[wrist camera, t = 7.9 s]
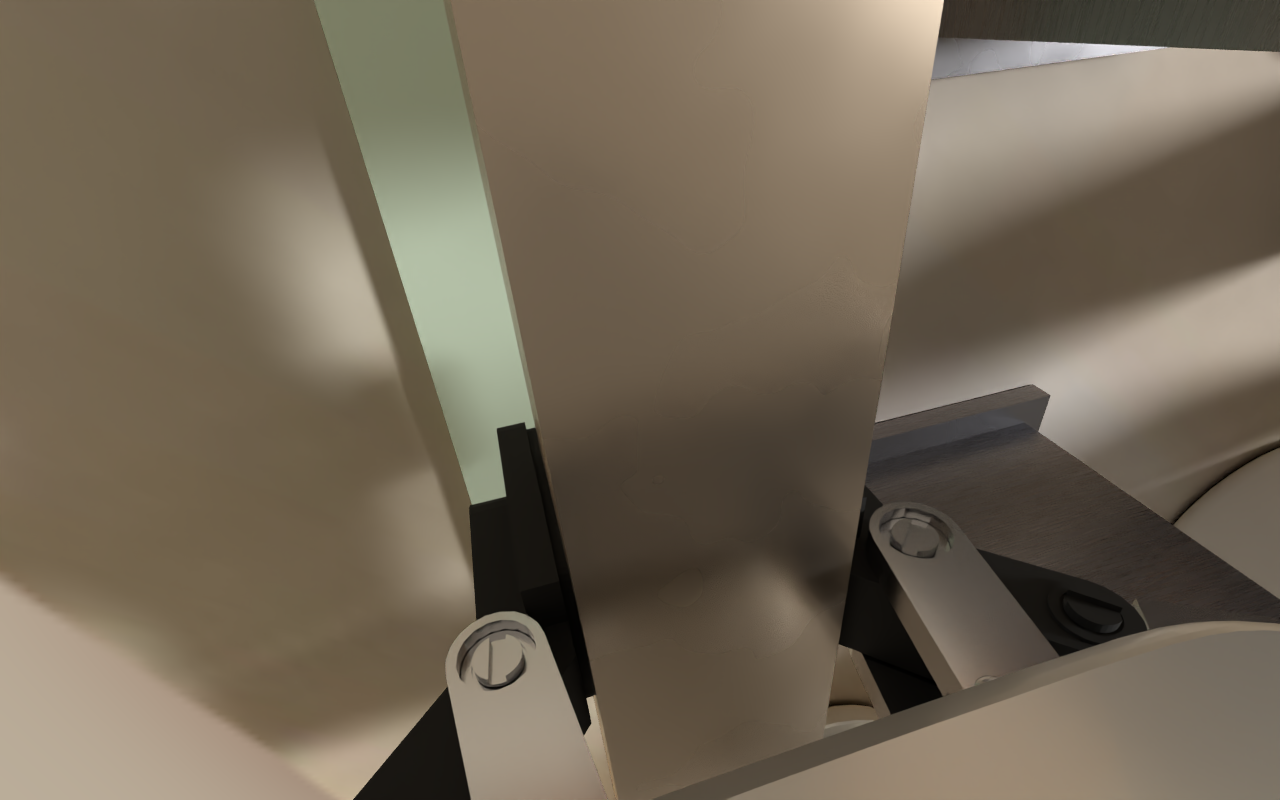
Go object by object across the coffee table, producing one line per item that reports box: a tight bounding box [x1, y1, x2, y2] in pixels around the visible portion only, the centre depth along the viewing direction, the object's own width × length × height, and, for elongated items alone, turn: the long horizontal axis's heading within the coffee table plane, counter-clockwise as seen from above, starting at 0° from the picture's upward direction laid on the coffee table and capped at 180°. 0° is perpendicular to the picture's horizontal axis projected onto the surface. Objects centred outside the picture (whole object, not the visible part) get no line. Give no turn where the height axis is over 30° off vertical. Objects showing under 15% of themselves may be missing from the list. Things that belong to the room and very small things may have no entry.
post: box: [865, 385, 1280, 620], centre depth 18 cm, size 7×9×14 cm
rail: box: [443, 0, 944, 800], centre depth 10 cm, size 24×4×4 cm, turn 4°
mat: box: [314, 0, 535, 505], centre depth 17 cm, size 26×8×1 cm, turn 4°
